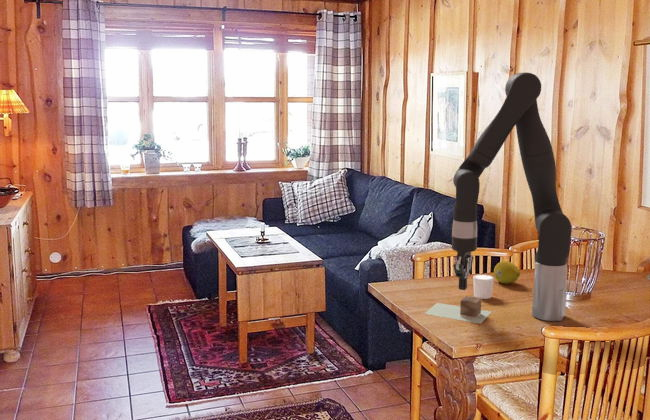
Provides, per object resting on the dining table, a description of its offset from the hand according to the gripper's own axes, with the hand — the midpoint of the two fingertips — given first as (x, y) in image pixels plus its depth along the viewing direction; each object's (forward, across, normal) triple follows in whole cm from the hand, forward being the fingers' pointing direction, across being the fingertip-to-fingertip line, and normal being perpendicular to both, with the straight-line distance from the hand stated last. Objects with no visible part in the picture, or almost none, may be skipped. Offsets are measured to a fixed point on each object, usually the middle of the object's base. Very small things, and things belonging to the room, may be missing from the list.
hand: (462, 289), depth 209 cm
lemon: (+9, +39, -4) cm, 40 cm away
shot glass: (+8, +20, -1) cm, 22 cm away
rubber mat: (+8, 0, +1) cm, 8 cm away
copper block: (+3, 0, -3) cm, 4 cm away
